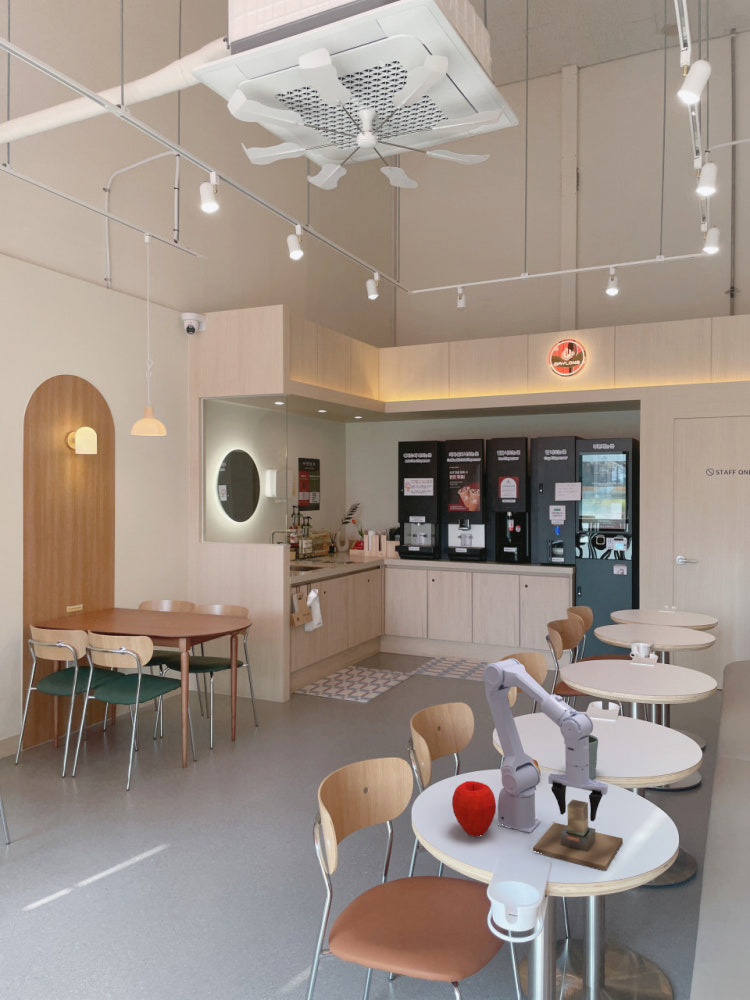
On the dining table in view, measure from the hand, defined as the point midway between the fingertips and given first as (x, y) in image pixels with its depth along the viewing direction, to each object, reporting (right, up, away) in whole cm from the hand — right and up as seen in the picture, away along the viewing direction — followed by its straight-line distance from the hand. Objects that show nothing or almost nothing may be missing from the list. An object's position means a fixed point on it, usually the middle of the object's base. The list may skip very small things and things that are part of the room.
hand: (577, 816), depth 190 cm
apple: (-25, -9, +9) cm, 28 cm away
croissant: (-5, -8, +45) cm, 46 cm away
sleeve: (0, -7, 0) cm, 7 cm away
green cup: (+14, -7, +46) cm, 48 cm away
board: (0, -8, 0) cm, 8 cm away
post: (0, -4, 0) cm, 4 cm away
